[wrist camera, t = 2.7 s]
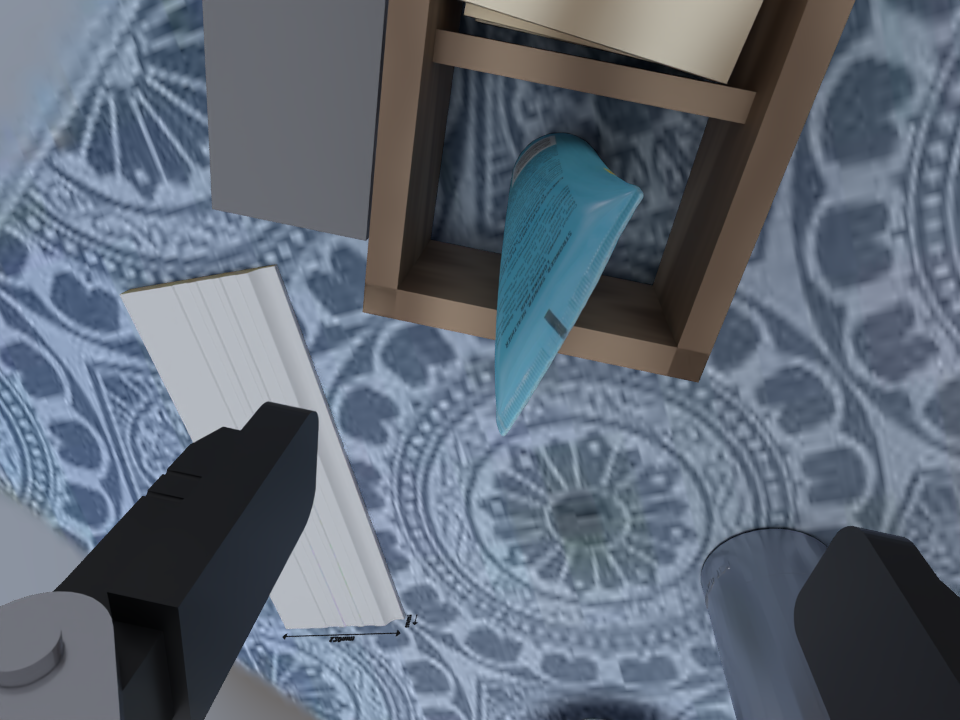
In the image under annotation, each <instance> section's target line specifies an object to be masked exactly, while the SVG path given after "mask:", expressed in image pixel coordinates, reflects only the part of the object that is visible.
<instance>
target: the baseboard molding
mask: <svg viewBox="0 0 960 720" xmlns="http://www.w3.org/2000/svg"><path fill="white" fill-rule="evenodd" d="M120 296H121V298H122V300H123V302H124V304H125V306H126V308H127V310H128V312H129V314H130V316H131V318H132V320H133V322H134V324H135V326H136V328H137V330H138V332H139V334H140V336H141V338H142V340H143V342H144V344H145V346H146V348H147V350H148V352H149V354H150V356H151V358H152V360H153V362H154V364H155V366H156V368H157V370H158V372H159V374H160V376H161V378H162V380H163V382H164V384H165V387H166V389H167V391H168V393H169V395H170V397H171V399H172V401H173V403H174V405H175V407H176V409H177V411H178V413H179V415H180V417H181V419H182V421H183V423H184V425H185V427H186V429H187V431H188V433H189V435H190V437H191V439H192V441H193V443H194V442H196V441H197V440H199V439H201V438H203V437H205V436H207V435H208V434H210V433H212V432H214V431H216V430H218V429H219V428H221V427H228V428H232V429H237V430H241V429H242V428H243V427H244V426H245V424H246V423H247V422H248V421H249V420H250V418H251V417H252V416H253V415H254V414H255V412H256V411H257V410H258V409H259V408H260V406H261V405H262V404H263V403H265V402H267V401H269V402H274V403H279V404H284V405H289V406H293V407H298V408H303V409H307V410H312V411H316V412H317V414H318V417H319V431H318V452H317V473H316V491H315V497H314V502H313V506H312V510H311V513H310V516H309V519H308V522H307V524H306V526H305V528H304V530H303V532H302V534H301V536H300V538H299V540H298V542H297V544H296V546H295V548H294V549H293V551H292V553H291V555H290V557H289V559H288V561H287V563H286V565H285V567H284V568H283V570H282V572H281V574H280V576H279V578H278V580H277V582H276V584H275V586H274V587H273V589H272V591H271V593H270V597H271V599H272V601H273V603H274V605H275V607H276V609H277V611H278V613H279V615H280V617H281V619H282V621H283V623H284V625H285V627H286V629H302V628H327V627H335V626H339V627H346V626H358V627H363V626H365V625H376V626H385V625H387V624H388V623H389V622H391V621H393V620H396V619H404V618H405V613H404V610H403V607H402V605H401V602H400V599H399V596H398V594H397V591H396V588H395V586H394V583H393V580H392V577H391V575H390V572H389V569H388V567H387V564H386V561H385V558H384V556H383V553H382V550H381V547H380V545H379V542H378V539H377V537H376V534H375V531H374V528H373V526H372V523H371V520H370V517H369V515H368V512H367V509H366V507H365V504H364V501H363V498H362V496H361V493H360V490H359V487H358V485H357V482H356V479H355V477H354V474H353V471H352V468H351V466H350V463H349V460H348V457H347V455H346V452H345V449H344V447H343V444H342V441H341V438H340V436H339V433H338V430H337V427H336V425H335V422H334V419H333V417H332V414H331V411H330V408H329V406H328V403H327V400H326V397H325V395H324V392H323V389H322V387H321V384H320V381H319V378H318V376H317V373H316V370H315V367H314V365H313V362H312V359H311V357H310V354H309V351H308V348H307V346H306V343H305V340H304V337H303V335H302V332H301V329H300V327H299V324H298V321H297V318H296V316H295V313H294V310H293V308H292V305H291V302H290V299H289V297H288V294H287V291H286V288H285V286H284V283H283V280H282V278H281V275H280V272H279V269H278V267H277V264H276V265H270V266H264V267H258V268H253V269H247V270H241V271H235V272H229V273H223V274H217V275H211V276H205V277H200V278H194V279H188V280H182V281H176V282H170V283H164V284H158V285H153V286H147V287H141V288H135V289H130V290H127V291H125V292H123V293H122V294H120ZM407 616H408V615H407ZM409 616H412V615H409ZM416 618H417V615H416ZM410 620H411V617H408V618H407V622H406V626H405V627H409V626H407V625H410V624H408V623H410ZM412 623H413V624H414V625H415V624H417V623H418V622H416V619H415V622H412ZM287 634H288V633H287ZM287 634H285V635H284V636H283V638H284V640H285V638H286V637H301V636H287ZM371 634H396V636H398V635H399V634H400V632H399V631H398V630H397V633H371ZM338 635H367V634H338ZM305 636H334V635H305ZM330 638H331V640H329V642H332V639H333V638H335V639H336V638H338V637H330ZM354 638H355V637H354V636H353V639H352V636H351V638H350V637H349V638H348V637H347V638H346V637H345V638H344V637H343V638H342V637H339V638H338V640H337V639H336V640H335V641H334V640H333V642H337V641H338V642H340V641H341V640H342V641H347V640H348V641H349V640H350V641H351V640H352V641H353V640H354ZM339 639H340V640H339Z"/></svg>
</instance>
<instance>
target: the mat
mask: <svg viewBox="0 0 960 720" xmlns="http://www.w3.org/2000/svg"><path fill="white" fill-rule="evenodd" d="M202 1H203V23H204V44H205V66H206V87H207V108H208V130H209V151H210V173H211V194H212V209H215V210H219V211H224V212H229V213H234V214H239V215H244V216H249V217H253V218H258V219H263V220H268V221H273V222H278V223H282V224H287V225H292V226H297V227H302V228H307V229H311V230H316V231H321V232H326V233H331V234H336V235H340V236H345V237H350V238H355V239H360V240H365V241H366V240H367V239H368V238H369V231H370V219H371V207H372V195H373V183H374V171H375V159H376V147H377V135H378V123H379V111H380V99H381V88H382V76H383V64H384V52H385V40H386V28H387V16H388V4H389V0H202Z"/></svg>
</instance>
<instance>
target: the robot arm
mask: <svg viewBox="0 0 960 720" xmlns="http://www.w3.org/2000/svg"><path fill="white" fill-rule="evenodd" d="M318 431H319V417H318V414H317V412H316V411H312V410H307V409H303V408H298V407H293V406H289V405H284V404H279V403H274V402H269V401H267V402H265V403H263V404H262V405H261V406H260V408H259V409H258V410H257V411H256V412H255V414H254V415H253V416H252V417H251V418H250V420H249V421H248V422H247V423H246V424H245V426H244V427H243V428H242V429H241V430H237V429H232V428H228V427H221V428H219V429H218V430H216V431H214V432H212V433H210V434H208V435H207V436H205V437H203V438H201V439H199V440H197V441H196V442H194V443H192V444H190V445H189V446H188V447H187V448H186V449H185V451H184V452H183V453H182V454H181V455H180V456H179V457H178V458H177V459H176V460H175V461H174V462H173V463H172V465H171V466H170V467H169V468H168V469H167V473H166V474H165V475H164V474H162V475H161V476H160V478H159V479H158V480H157V481H156V482H155V483H154V484H153V485H152V486H151V487H150V488H149V489H148V492H147V495H146V496H142V497H141V498H140V499H139V500H138V501H137V502H136V503H135V505H134V506H133V507H132V508H131V509H130V510H129V511H128V512H127V513H126V514H125V515H124V516H123V518H122V519H121V520H120V521H119V522H118V523H117V524H116V525H115V526H114V527H113V528H112V529H111V530H110V532H109V533H108V534H107V535H106V536H105V537H104V538H103V539H102V540H101V541H100V542H99V543H98V545H97V546H96V547H95V548H94V549H93V550H92V551H91V552H90V553H89V554H88V555H87V556H86V558H85V559H84V560H83V561H82V562H81V563H80V564H79V565H78V566H77V568H75V569H74V570H73V572H72V573H71V574H70V575H69V576H68V577H67V578H66V579H65V580H64V581H63V582H62V583H61V584H60V585H59V586H58V587H57V588H56V589H55V590H54V591H53V592H47V593H40V594H36V595H31V596H27V597H24V598H21V599H18V600H15V601H12V602H10V603H8V604H5V605H3V606H0V720H204V719H205V717H206V714H207V713H208V711H209V709H210V707H211V705H212V703H213V701H214V699H215V698H216V696H217V694H218V692H219V690H220V688H221V686H222V684H223V682H224V681H225V679H226V677H227V675H228V673H229V671H230V669H231V667H232V665H233V663H234V662H235V660H236V658H237V656H238V654H239V652H240V650H241V648H242V646H243V644H244V643H245V641H246V639H247V637H248V635H249V633H250V631H251V629H252V627H253V625H254V624H255V622H256V620H257V618H258V616H259V614H260V612H261V610H262V608H263V606H264V605H265V603H266V601H267V599H268V597H269V595H270V593H271V591H272V589H273V587H274V586H275V584H276V582H277V580H278V578H279V576H280V574H281V572H282V570H283V568H284V567H285V565H286V563H287V561H288V559H289V557H290V555H291V553H292V551H293V549H294V548H295V546H296V544H297V542H298V540H299V538H300V536H301V534H302V532H303V530H304V528H305V526H306V524H307V522H308V519H309V516H310V513H311V510H312V506H313V502H314V497H315V491H316V473H317V452H318ZM701 584H702V588H703V592H704V596H705V603H706V607H707V609H708V612H709V615H710V619H711V623H712V627H713V631H714V635H715V639H716V643H717V647H718V651H719V654H720V658H721V662H722V666H723V670H724V673H725V677H726V681H727V685H728V688H729V692H730V696H731V700H732V704H733V707H734V711H735V715H736V719H737V720H960V598H959V597H958V596H957V595H956V594H955V593H954V592H953V591H952V590H951V589H949V588H948V587H947V586H946V585H945V584H944V583H943V582H942V581H940V580H939V578H938V577H937V576H936V574H935V573H934V571H933V570H932V569H931V567H930V566H929V564H928V563H927V562H926V560H925V559H924V557H923V556H922V555H921V553H920V552H919V550H918V549H917V548H916V546H915V545H914V544H913V543H912V542H911V541H910V540H908V539H906V538H905V537H901V536H896V535H892V534H887V533H882V532H878V531H873V530H868V529H863V528H859V527H854V526H847V527H844V528H843V529H841V530H840V531H839V532H838V533H837V534H836V535H835V537H834V538H833V540H832V542H831V543H830V545H829V546H828V548H827V547H826V546H825V545H824V544H823V543H821V542H820V541H818V540H817V539H815V538H813V537H811V536H809V535H806V534H804V533H801V532H797V531H792V530H786V529H765V530H757V531H752V532H748V533H744V534H742V535H739V536H737V537H734V538H732V539H730V540H728V541H727V542H725V543H724V544H722V545H720V546H719V547H718V548H717V549H716V550H715V551H714V552H713V553H712V554H711V555H710V556H709V558H708V559H707V561H706V562H705V564H704V566H703V569H702V572H701Z"/></svg>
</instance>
